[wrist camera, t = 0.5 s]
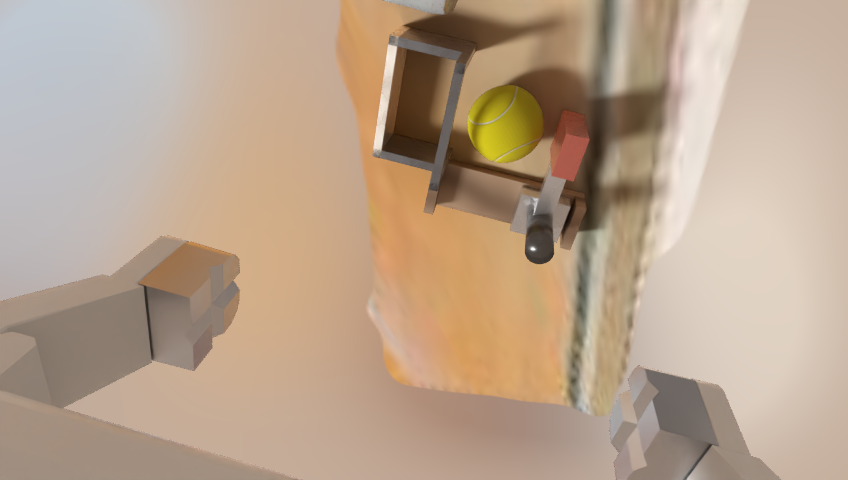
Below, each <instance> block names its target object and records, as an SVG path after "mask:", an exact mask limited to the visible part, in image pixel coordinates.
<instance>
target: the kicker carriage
mask: <svg viewBox="0 0 848 480" xmlns="http://www.w3.org/2000/svg"><path fill="white" fill-rule="evenodd" d="M589 140H590V139H589V134H588V130H587V125H586V121H585V116H584V115H583V114H579V113H575V112H571V111H567V110H563V112H562V115H561V118H560V121H559V124H558V127H557V130H556V133H555V136H554V139H553V142H552V145H551V148H550V152H551V160H550V163H549V166H548V169H547V172H546V174H545V177H544V180H543V183H542V186H541V189H540V190H537V189H533V188H529V187H525V186H522V189H521V192H520V195H519V198H518V201H517V204H516V207H515V211H514V214H513V217H512V220H511V226H510V231H513V232H517V233H521V234H525V235H526V243H525V255H526V257H527V259H528V260H529V261H531V262H533V263H536V264H544V263H547V262H548V261H550V260H551V259H552V257H553V255H554V242H556V243H557V241H558V238H559V235H560V233H561V230H562V228H563V225H564V223H565V220H566V217H567V215H568V212H569V210H570V207H571V205H570V198H568V197H565V196H561V193H562V190H563V187H564V184H565V182H566V180H569V181H573V182H574V180H575V177H576V174H577V172H578V169H579V166H580V164H581V161H582V158H583V156H584V153H585V150H586V148H587V145H588V143H589Z"/></svg>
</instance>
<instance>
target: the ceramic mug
mask: <svg viewBox="0 0 848 480" xmlns="http://www.w3.org/2000/svg"><path fill="white" fill-rule="evenodd" d="M383 1H387V2H390V3H394V4H398V5H402V6H406V7H411V8H414V9H417V10H421V11H424V12H428V13H433V14H442V15H444V14H449V13H450V12H452V11H453V10H454V8H455V6H456V3H457V0H383Z"/></svg>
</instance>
